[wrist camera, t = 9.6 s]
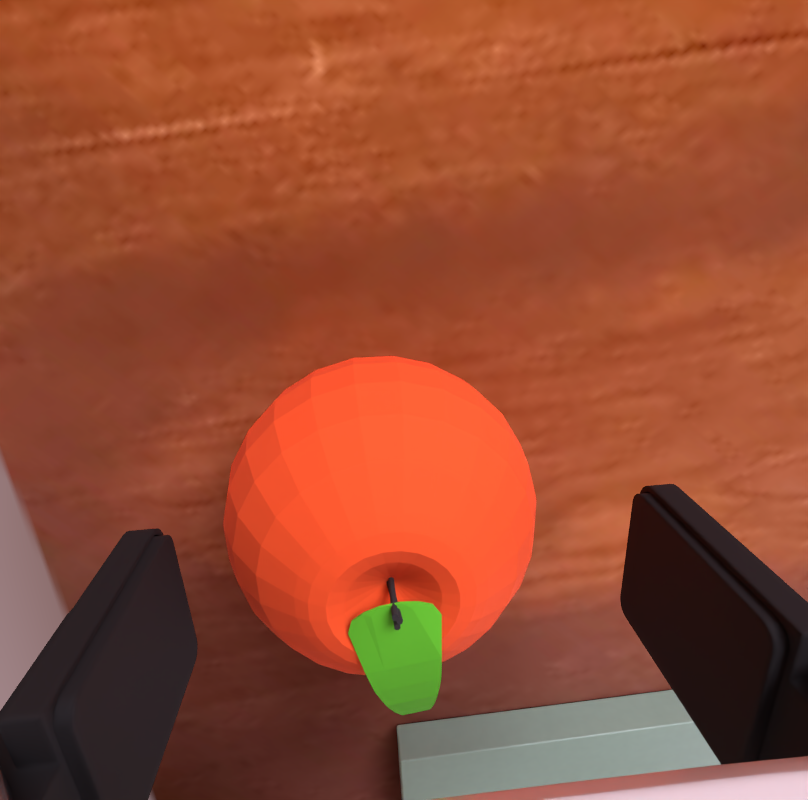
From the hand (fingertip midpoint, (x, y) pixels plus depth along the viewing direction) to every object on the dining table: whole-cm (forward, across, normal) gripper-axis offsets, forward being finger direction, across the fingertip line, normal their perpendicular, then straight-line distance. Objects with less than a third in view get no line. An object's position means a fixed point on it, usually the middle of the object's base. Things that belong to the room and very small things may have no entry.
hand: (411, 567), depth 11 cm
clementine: (+5, 0, 0) cm, 5 cm away
